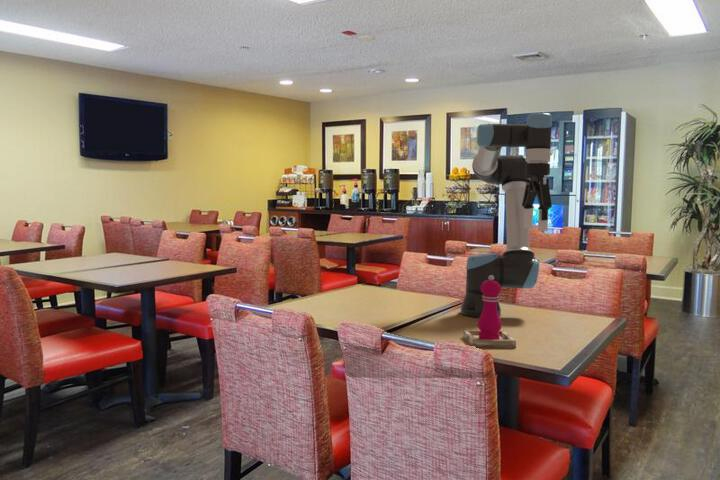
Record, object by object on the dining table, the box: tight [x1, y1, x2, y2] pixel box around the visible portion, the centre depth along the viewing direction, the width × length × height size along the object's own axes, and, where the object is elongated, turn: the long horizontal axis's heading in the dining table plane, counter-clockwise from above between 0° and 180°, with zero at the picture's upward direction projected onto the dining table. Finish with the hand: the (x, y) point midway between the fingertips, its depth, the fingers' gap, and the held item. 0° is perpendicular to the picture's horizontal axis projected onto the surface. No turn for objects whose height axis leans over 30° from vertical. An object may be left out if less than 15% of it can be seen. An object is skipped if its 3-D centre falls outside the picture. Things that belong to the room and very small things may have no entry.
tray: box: [462, 329, 517, 349], centre depth 177 cm, size 13×13×2 cm
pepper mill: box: [477, 275, 503, 340], centre depth 176 cm, size 7×7×20 cm
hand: (535, 229), depth 183 cm, fingers open, 13 cm apart
